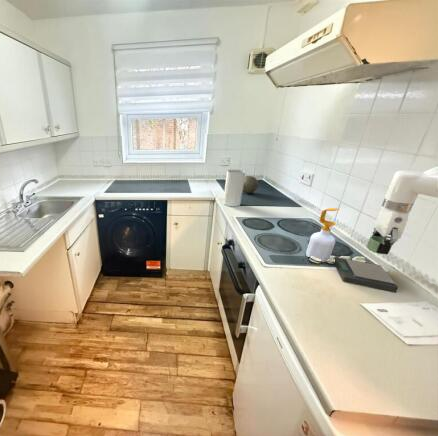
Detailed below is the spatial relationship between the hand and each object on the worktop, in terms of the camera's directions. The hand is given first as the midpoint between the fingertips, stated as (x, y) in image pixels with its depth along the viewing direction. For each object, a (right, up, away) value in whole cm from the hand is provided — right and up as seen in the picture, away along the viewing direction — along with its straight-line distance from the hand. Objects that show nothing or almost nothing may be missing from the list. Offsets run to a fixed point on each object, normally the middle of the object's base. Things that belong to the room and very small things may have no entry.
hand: (377, 248), depth 92 cm
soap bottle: (-10, -7, +19) cm, 22 cm away
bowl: (0, -1, 0) cm, 1 cm away
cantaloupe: (-3, +40, +110) cm, 117 cm away
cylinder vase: (-25, +22, +88) cm, 95 cm away
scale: (-1, -12, +6) cm, 13 cm away
